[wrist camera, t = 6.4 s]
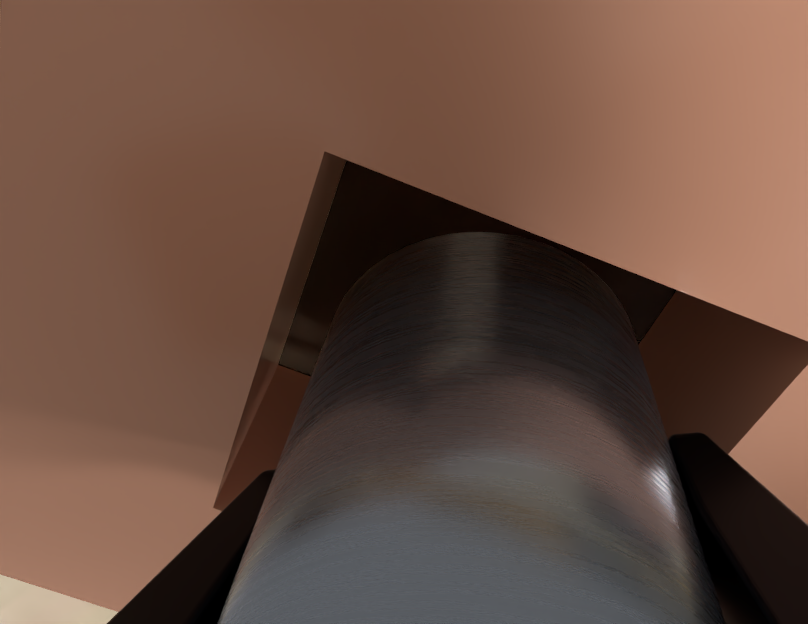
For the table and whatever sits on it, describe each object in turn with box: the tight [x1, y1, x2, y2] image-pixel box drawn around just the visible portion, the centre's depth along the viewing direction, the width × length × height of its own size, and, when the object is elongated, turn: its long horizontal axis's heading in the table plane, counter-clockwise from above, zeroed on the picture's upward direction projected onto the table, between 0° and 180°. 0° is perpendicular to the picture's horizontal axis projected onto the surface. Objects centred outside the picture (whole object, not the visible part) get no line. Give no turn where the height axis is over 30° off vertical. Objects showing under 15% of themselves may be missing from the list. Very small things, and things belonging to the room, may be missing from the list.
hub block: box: [0, 0, 808, 612], centre depth 11 cm, size 14×14×4 cm
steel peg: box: [217, 232, 726, 624], centre depth 8 cm, size 5×5×8 cm
